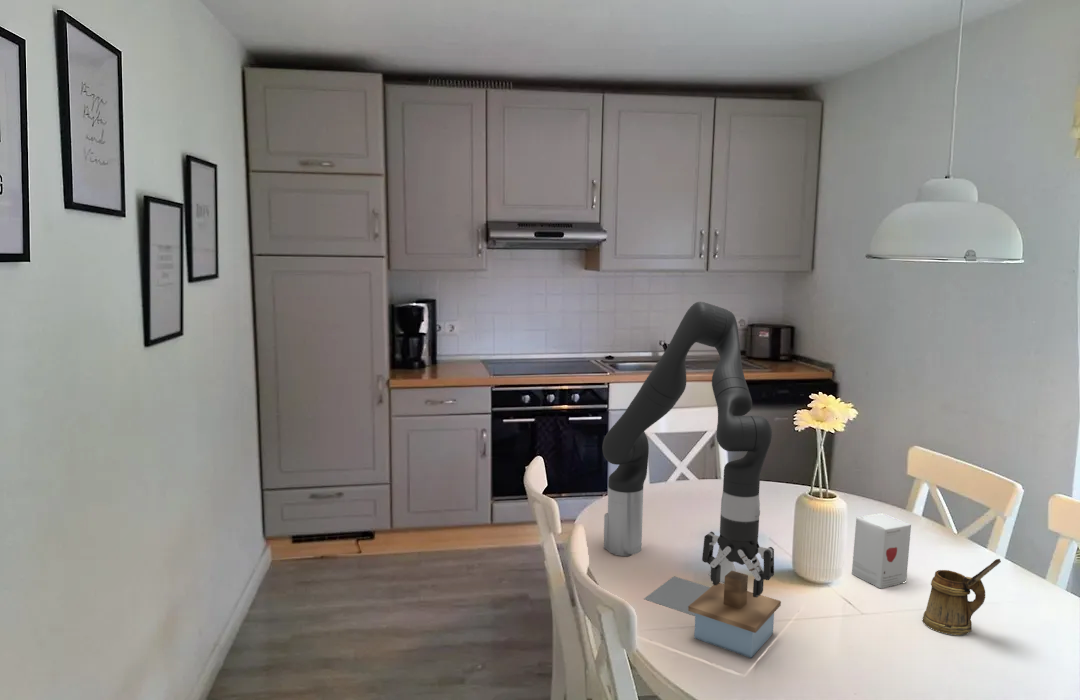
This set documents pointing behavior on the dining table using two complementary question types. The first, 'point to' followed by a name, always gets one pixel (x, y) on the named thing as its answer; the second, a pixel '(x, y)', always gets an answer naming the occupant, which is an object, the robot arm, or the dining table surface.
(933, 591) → the wooden mug
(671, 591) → the rubber mat
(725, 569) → the flask
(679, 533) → the dining table surface
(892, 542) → the supplement box
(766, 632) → the blue storage bin
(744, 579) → the walnut lid
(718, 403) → the robot arm
